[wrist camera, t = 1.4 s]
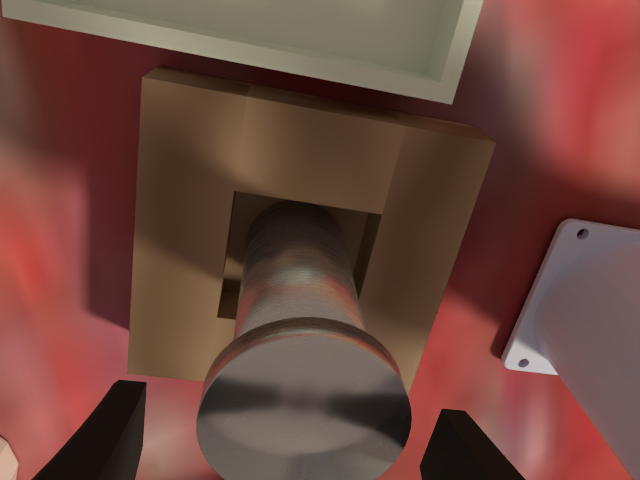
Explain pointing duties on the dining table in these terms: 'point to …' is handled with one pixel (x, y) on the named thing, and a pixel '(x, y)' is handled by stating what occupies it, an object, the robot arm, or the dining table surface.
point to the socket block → (289, 184)
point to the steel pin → (301, 364)
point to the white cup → (7, 462)
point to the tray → (291, 35)
